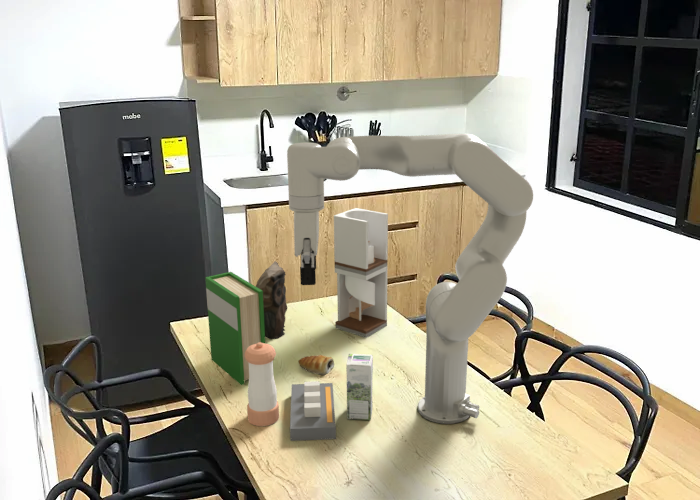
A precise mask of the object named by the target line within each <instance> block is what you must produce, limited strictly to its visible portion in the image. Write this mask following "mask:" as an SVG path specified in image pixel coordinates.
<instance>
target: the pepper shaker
mask: <svg viewBox="0 0 700 500" xmlns="http://www.w3.org/2000/svg"><path fill="white" fill-rule="evenodd" d="M276 355H277V351H276V350H275V348H274V346H272V345H271V344H269V343H266V342H265V343H261V342H259V343H257V344H253V345H251V346H249V347H248V348H247V350H246V351H245V359H246V360H247V361H248V362H249V379H248V385H247V398H248V399H247V401H248V403H247V405H246V407H247V408H246V410H247V421H248V423H249V424H251V425H253V426H257V427H267V426H271V425H274V424H275V423H277V422H278V421H279V418H280V408H279V407H280V405H279V401H278V392H277V391H278V390H277V386H276V381H275V377H274V363H273V361H274V360H275V358H276Z"/></svg>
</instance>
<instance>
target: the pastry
mask: <svg viewBox="0 0 700 500" xmlns="http://www.w3.org/2000/svg"><path fill="white" fill-rule="evenodd" d="M298 365H299V367H300V368H301V369H303V370H305V371H307V372H308V373H312V374H316V375H321V376H325V375H328V374H329V373H330V372H331V370H332V369H333V368H334V367H335V360H334V359H333V357H331V356H327V355H322V354H318V355H316V354H315V355H309V356H303V357H302V358H300V359H298Z"/></svg>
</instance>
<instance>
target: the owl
mask: <svg viewBox="0 0 700 500" xmlns="http://www.w3.org/2000/svg"><path fill="white" fill-rule="evenodd" d="M285 283H286V271H285V270H284V268H283V267H281V266H280V265H279V263H278V262H277V261H276V260H275V261H274V262H273V263H271V265H270V266H269V267H268V268H266V269H265V270H264V271H263V273H262V274H261V275H260V277H259V279H257V282H256V284H255V287H257V288H259V289H260V290H262V291H263V307H264V327H265V339H269V340H278V339H280V338H281V337H284V336H285V335H286V333H285V331H286V329H285V327H286V326H285V323H286V313H287V311H288V304H287V298H286V291H287V289H286V286H285Z"/></svg>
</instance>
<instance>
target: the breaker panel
mask: <svg viewBox="0 0 700 500" xmlns="http://www.w3.org/2000/svg"><path fill="white" fill-rule="evenodd" d="M290 391H291V393H290V394H291V395H290V399H291V400H290V423H289V425H290V426H289V435H290V437H289V439H290V442H295V441H320V440H337V433H336V432H337V428H336V412H335V401H334V385H333V382H324V383H321V382H320V406H321V417H305V411H304V403H305V399H304V392H305V388H304V383H298V384H296V383H295V384H293V383H292V384H291V390H290Z"/></svg>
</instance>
